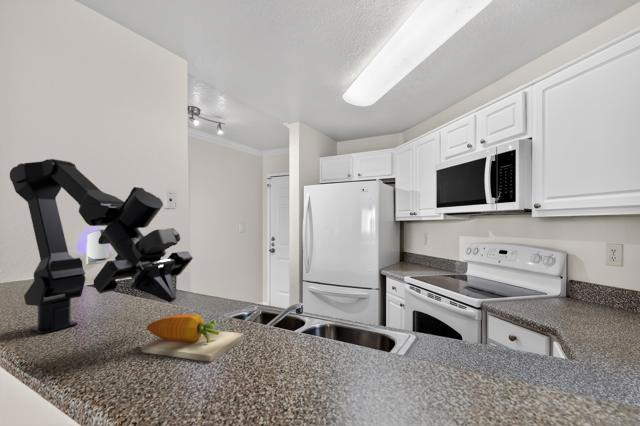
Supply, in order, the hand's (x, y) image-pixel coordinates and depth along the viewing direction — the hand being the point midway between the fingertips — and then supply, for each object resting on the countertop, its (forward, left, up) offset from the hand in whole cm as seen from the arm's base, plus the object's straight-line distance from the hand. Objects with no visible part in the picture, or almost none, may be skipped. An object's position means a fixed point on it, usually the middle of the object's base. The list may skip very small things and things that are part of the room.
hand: (173, 300), depth 57 cm
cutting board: (+5, +1, -8) cm, 10 cm away
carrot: (-5, -2, -5) cm, 7 cm away
